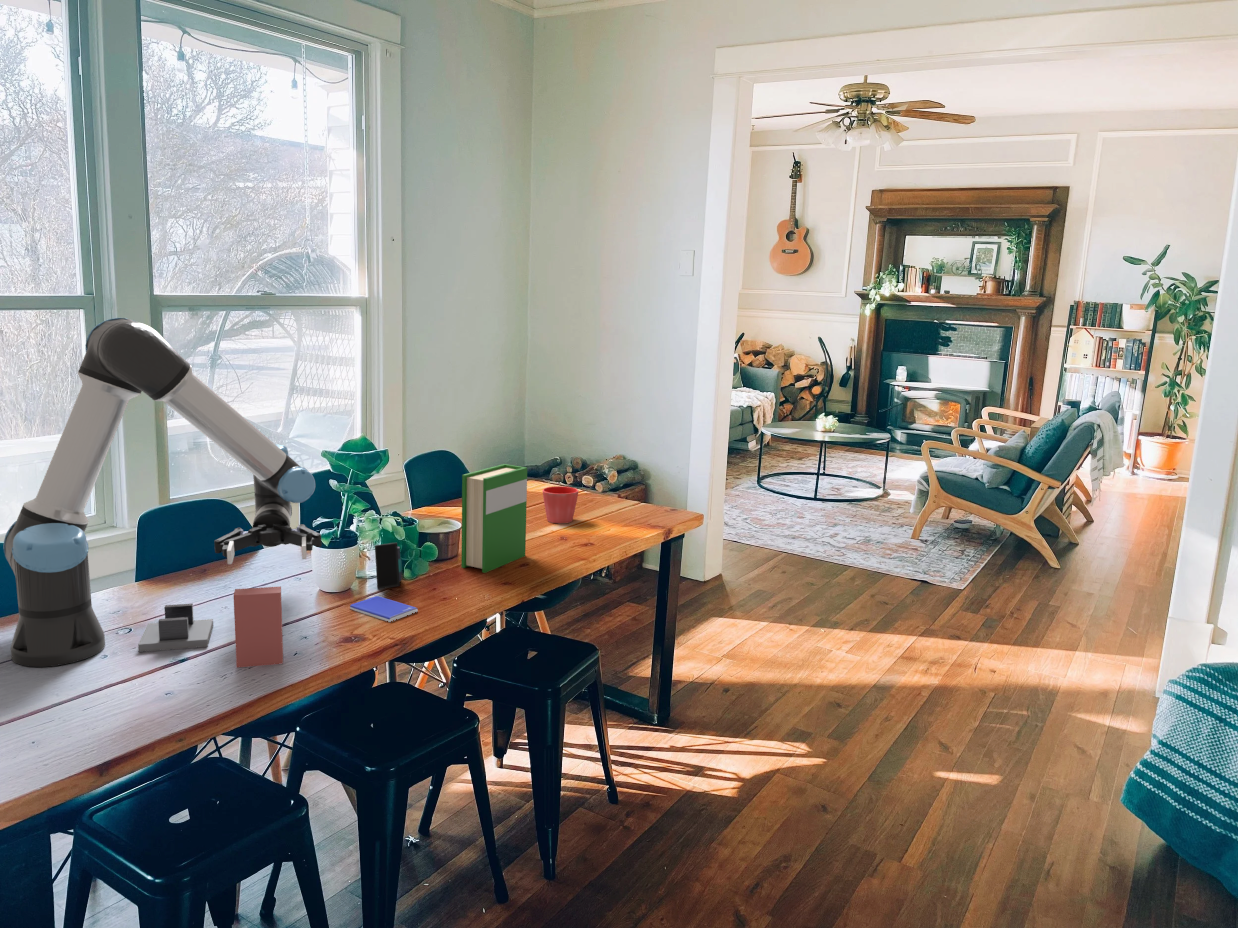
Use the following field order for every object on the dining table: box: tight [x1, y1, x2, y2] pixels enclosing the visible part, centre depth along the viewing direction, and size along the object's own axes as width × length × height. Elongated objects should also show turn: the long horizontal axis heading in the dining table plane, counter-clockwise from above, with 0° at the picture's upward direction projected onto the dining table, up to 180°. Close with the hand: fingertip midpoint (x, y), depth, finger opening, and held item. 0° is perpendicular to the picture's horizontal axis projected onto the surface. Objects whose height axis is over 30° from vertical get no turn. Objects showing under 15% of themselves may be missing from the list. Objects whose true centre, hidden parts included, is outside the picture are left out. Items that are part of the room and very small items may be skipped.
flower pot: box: [542, 485, 579, 524], centre depth 281 cm, size 11×11×10 cm
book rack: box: [137, 603, 214, 653], centre depth 181 cm, size 12×11×6 cm
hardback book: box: [460, 463, 528, 574], centre depth 237 cm, size 18×7×24 cm, turn 151°
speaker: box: [374, 542, 403, 590], centre depth 218 cm, size 8×6×10 cm
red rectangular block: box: [233, 586, 284, 669], centre depth 171 cm, size 8×4×14 cm, turn 108°
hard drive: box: [349, 595, 419, 623], centre depth 202 cm, size 2×8×12 cm
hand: (267, 555), depth 179 cm, fingers open, 13 cm apart
